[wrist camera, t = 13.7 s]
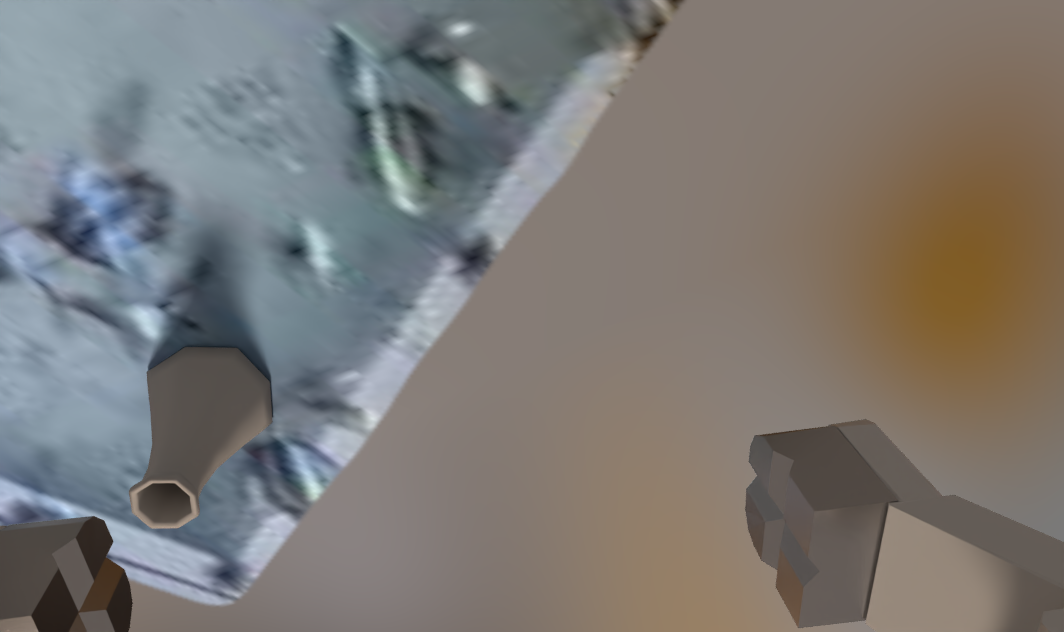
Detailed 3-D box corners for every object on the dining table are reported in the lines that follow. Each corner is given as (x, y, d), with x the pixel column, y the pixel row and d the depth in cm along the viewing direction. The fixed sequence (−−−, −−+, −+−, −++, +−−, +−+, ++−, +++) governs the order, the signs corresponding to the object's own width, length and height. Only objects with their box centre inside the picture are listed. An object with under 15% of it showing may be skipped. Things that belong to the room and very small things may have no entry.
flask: (125, 360, 45) (54, 466, 36) (247, 328, 45) (204, 426, 36) (180, 457, 49) (126, 576, 40) (292, 427, 49) (264, 539, 40)
